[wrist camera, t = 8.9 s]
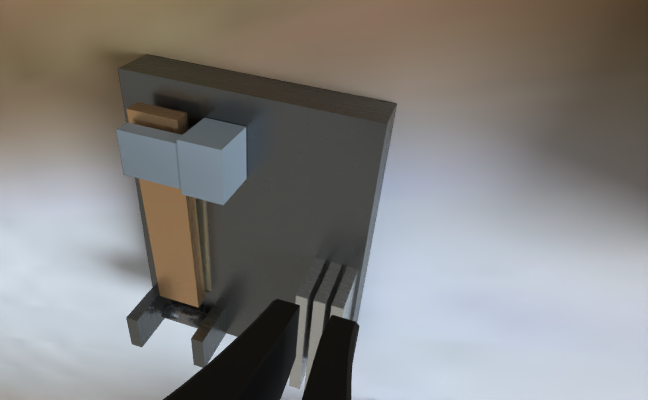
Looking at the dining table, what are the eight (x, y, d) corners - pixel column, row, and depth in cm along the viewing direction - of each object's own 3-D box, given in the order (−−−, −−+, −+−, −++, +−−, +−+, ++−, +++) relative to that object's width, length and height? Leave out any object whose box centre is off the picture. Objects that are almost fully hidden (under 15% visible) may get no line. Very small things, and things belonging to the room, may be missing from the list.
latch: (246, 178, 20) (223, 204, 19) (153, 156, 21) (123, 179, 19) (246, 126, 19) (221, 150, 17) (146, 104, 20) (114, 125, 18)
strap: (209, 321, 26) (202, 332, 26) (170, 309, 27) (162, 320, 26) (189, 112, 19) (178, 121, 18) (135, 100, 19) (123, 108, 19)
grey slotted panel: (353, 341, 27) (330, 412, 23) (175, 287, 29) (128, 344, 25) (396, 103, 19) (372, 155, 15) (147, 54, 21) (73, 89, 17)
